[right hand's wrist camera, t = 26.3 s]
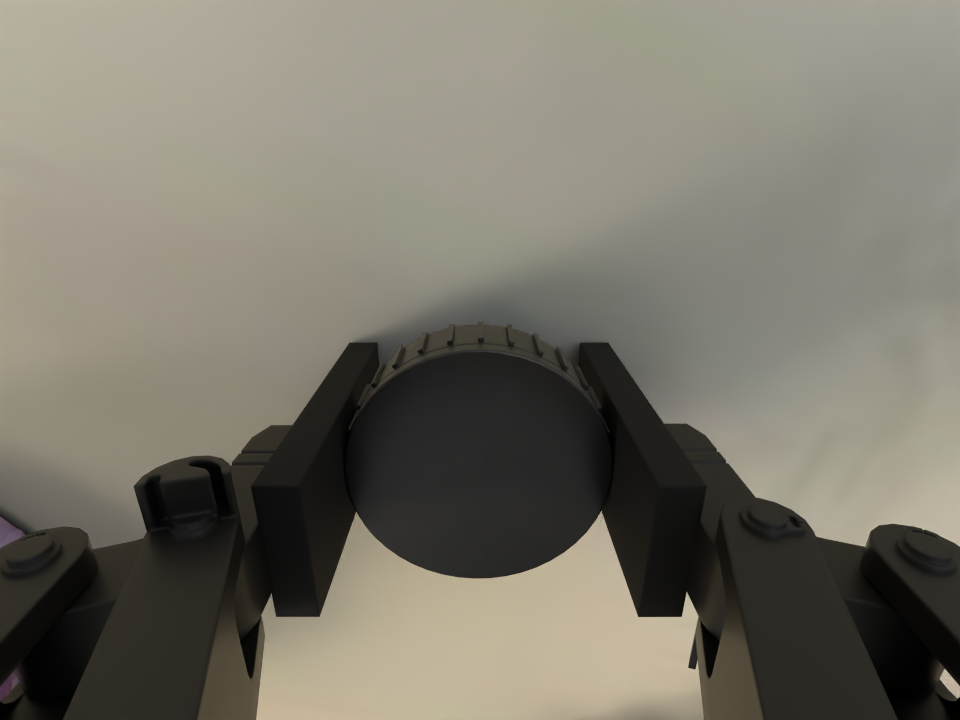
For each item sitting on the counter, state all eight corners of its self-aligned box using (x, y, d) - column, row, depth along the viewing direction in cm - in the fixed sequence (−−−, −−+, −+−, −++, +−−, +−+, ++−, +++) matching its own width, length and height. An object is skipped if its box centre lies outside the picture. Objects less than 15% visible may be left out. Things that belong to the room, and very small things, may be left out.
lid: (601, 524, 13) (616, 572, 12) (378, 542, 13) (366, 591, 12) (599, 308, 11) (618, 333, 9) (335, 333, 11) (313, 360, 10)
